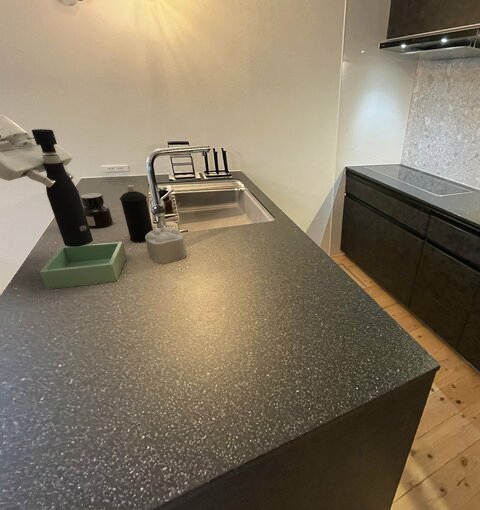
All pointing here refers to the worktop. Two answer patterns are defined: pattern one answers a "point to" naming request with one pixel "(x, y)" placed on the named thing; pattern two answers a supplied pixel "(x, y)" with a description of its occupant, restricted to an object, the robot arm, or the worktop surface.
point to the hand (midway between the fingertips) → (62, 182)
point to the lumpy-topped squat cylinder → (165, 245)
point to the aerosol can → (136, 214)
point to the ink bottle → (96, 210)
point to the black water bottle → (63, 194)
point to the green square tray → (84, 265)
